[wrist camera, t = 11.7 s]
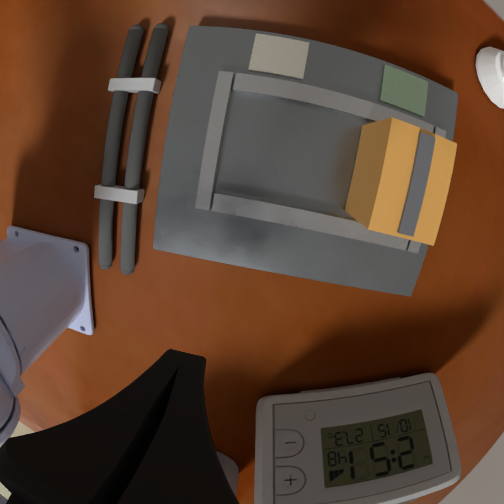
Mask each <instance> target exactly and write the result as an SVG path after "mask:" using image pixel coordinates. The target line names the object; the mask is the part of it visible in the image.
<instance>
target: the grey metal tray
mask: <svg viewBox="0 0 504 504" xmlns="http://www.w3.org/2000/svg"><path fill="white" fill-rule="evenodd" d="M457 101H458V93H456V92H454V91H452V90H450V89H449V88H447V87H445V86H442V85H440V84H438V83H436V82H434V81H432V80H430V79H428V78H425V77H423V76H421V75H419V74H416V73H414V72H412V71H409V70H407V69H404V68H402V67H399V66H397V65H394V64H391V63H389V62H386V61H383V60H380V59H377V58H374V57H371V56H368V55H365V54H362V53H359V52H356V51H352V50H349V49H346V48H342V47H338V46H335V45H331V44H327V43H323V42H318V41H314V40H310V39H305V38H300V37H295V36H290V35H284V34H278V33H272V32H265V31H257V30H249V29H240V28H228V27H213V26H189V30H188V34H187V38H186V41H185V45H184V49H183V53H182V58H181V62H180V66H179V71H178V75H177V80H176V84H175V89H174V94H173V99H172V104H171V110H170V115H169V121H168V126H167V132H166V139H165V145H164V152H163V158H162V166H161V173H160V181H159V190H158V199H157V208H156V219H155V230H154V243H153V249H156V250H161V251H166V252H171V253H176V254H181V255H186V256H191V257H196V258H201V259H206V260H211V261H216V262H221V263H227V264H232V265H237V266H242V267H247V268H253V269H258V270H263V271H269V272H274V273H279V274H285V275H290V276H296V277H301V278H307V279H312V280H318V281H323V282H329V283H335V284H340V285H346V286H352V287H357V288H363V289H369V290H375V291H381V292H387V293H392V294H398V295H404V296H410V297H411V295H412V292H413V289H414V287H415V284H416V281H417V278H418V276H419V273H420V270H421V267H422V264H423V261H424V258H425V255H426V252H427V249H428V246H429V245H428V244H424V243H421V242H417V241H413V240H409V239H405V238H401V237H397V236H393V235H389V234H384V233H380V232H376V231H372V230H368V229H367V228H365V227H364V226H363V225H362V224H361V223H359V222H358V221H357V220H356V219H355V218H353V217H352V216H351V215H350V214H348V213H347V212H346V211H345V206H346V202H347V198H348V193H349V189H350V184H351V180H352V175H353V171H354V166H355V161H356V156H357V151H358V146H359V141H360V135H361V130H362V125H365V124H369V123H372V122H376V121H380V120H383V119H387V118H391V117H393V118H396V119H398V120H401V121H404V122H407V123H409V124H412V125H414V126H417V127H420V128H422V129H425V130H427V131H429V132H432V133H434V134H437V135H439V136H441V137H443V138H446V139H448V140H450V141H452V142H453V136H454V128H455V120H456V112H457Z"/></svg>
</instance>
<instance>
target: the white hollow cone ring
mask: <svg viewBox="0 0 504 504" xmlns="http://www.w3.org/2000/svg"><path fill="white" fill-rule="evenodd" d="M476 70H477V75H478V79H479V81H480V83H481V85H482V88H483V90H484V92H485V93H486V94H487V96H488V97H489V98H490V100H491V101H492V102H493V103H494V104H496V105H497V106H498V107H499V108H503V109H504V51H502V50H499V49H496V48H493V47H486V48H482V49H480V51H479V52H478V54H477V55H476Z"/></svg>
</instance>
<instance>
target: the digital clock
mask: <svg viewBox="0 0 504 504" xmlns="http://www.w3.org/2000/svg"><path fill="white" fill-rule="evenodd" d="M460 476H461V464H460V458H459V453H458V449H457V444H456V440H455V435H454V431H453V427H452V423H451V419H450V416H449V412H448V408H447V405H446V401H445V398H444V394H443V391H442V388H441V385H440V382H439V379H438V377H437V376H436V375H435V374H434V373H422V374H418V375H414V376H409V377H405V378H400V377H396V378H391V379H386V380H381V381H375V382H369V383H363V384H357V385H350V386H343V387H335V388H327V389H318V390H308V391H300V393H295V394H281V395H269V396H265V397H262V398H260V399H259V401H258V403H257V407H256V441H255V492H254V503H255V504H403V503H407V502H410V501H413V500H416V499H417V498H418V497H421V496H424V495H426V494H429V493H432V492H435V491H438V490H440V489H443V488H445V487H448V486H450V485H452V484H454V483H455V482H457V481H458V480H459V479H460Z"/></svg>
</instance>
